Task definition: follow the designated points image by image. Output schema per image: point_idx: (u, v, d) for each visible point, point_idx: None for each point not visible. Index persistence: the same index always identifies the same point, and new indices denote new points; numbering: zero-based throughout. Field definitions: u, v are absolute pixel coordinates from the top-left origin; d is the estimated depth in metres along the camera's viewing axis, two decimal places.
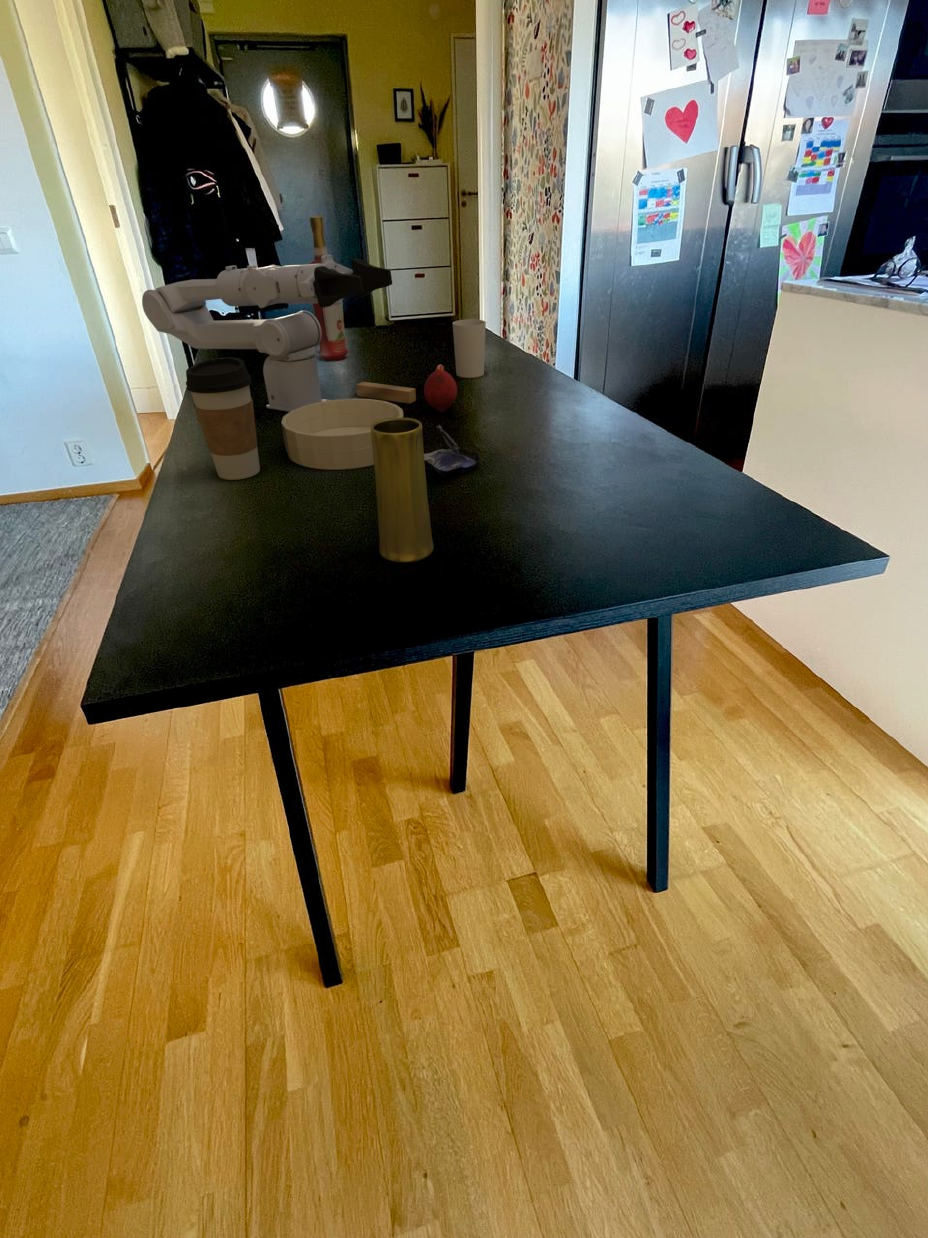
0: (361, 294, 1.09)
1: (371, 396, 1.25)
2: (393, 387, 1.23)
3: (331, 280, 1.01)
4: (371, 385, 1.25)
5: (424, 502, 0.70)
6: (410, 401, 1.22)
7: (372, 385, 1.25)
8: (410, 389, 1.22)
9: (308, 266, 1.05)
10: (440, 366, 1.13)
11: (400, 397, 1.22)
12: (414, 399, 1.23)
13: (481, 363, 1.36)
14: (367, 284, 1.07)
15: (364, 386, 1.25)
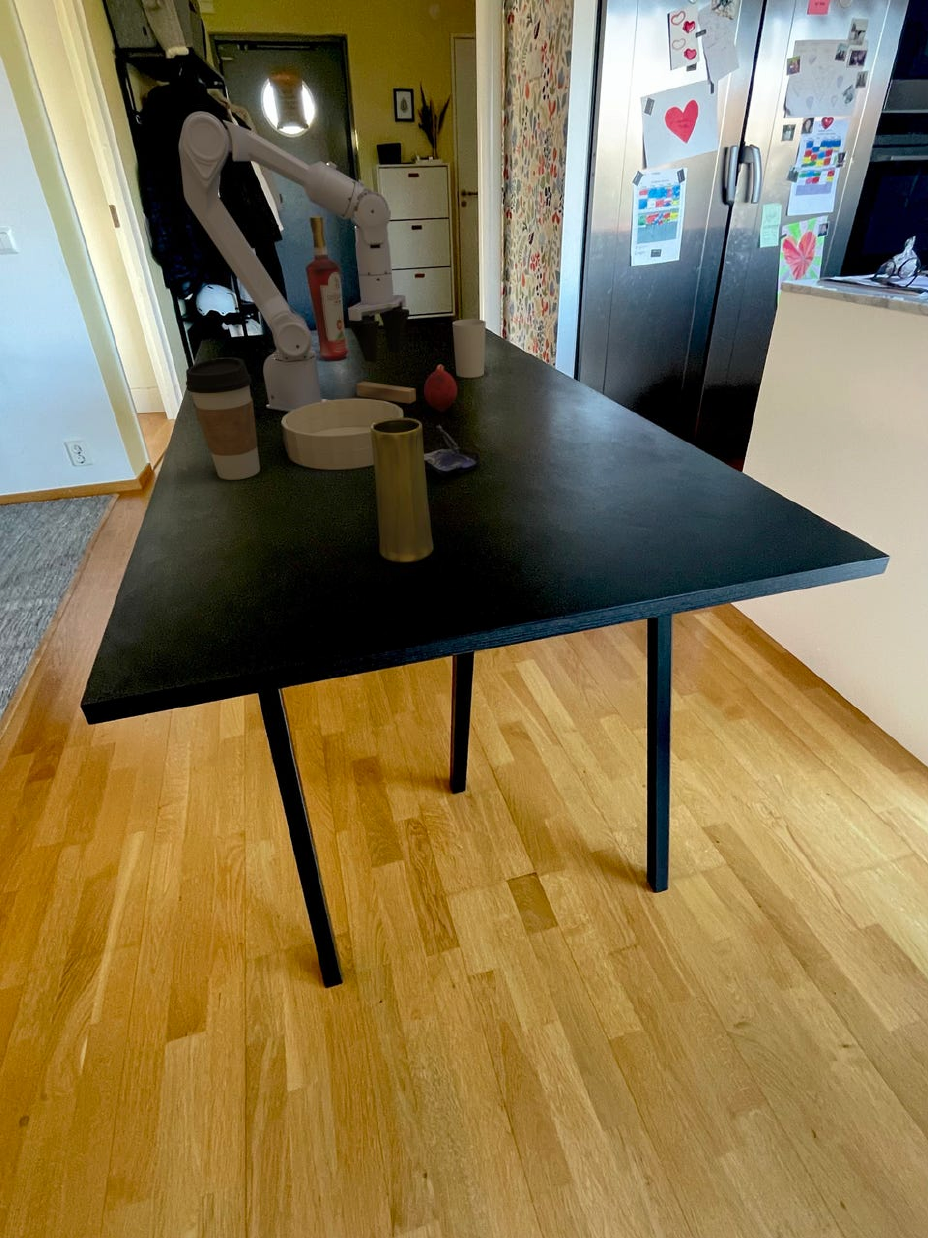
0: (381, 315, 1.21)
1: (371, 396, 1.25)
2: (393, 387, 1.23)
3: None
4: (371, 385, 1.25)
5: (424, 502, 0.70)
6: (410, 401, 1.22)
7: (372, 385, 1.25)
8: (410, 389, 1.22)
9: (384, 284, 1.12)
10: (440, 366, 1.13)
11: (400, 397, 1.22)
12: (414, 399, 1.23)
13: (481, 363, 1.36)
14: (388, 325, 1.21)
15: (364, 386, 1.25)
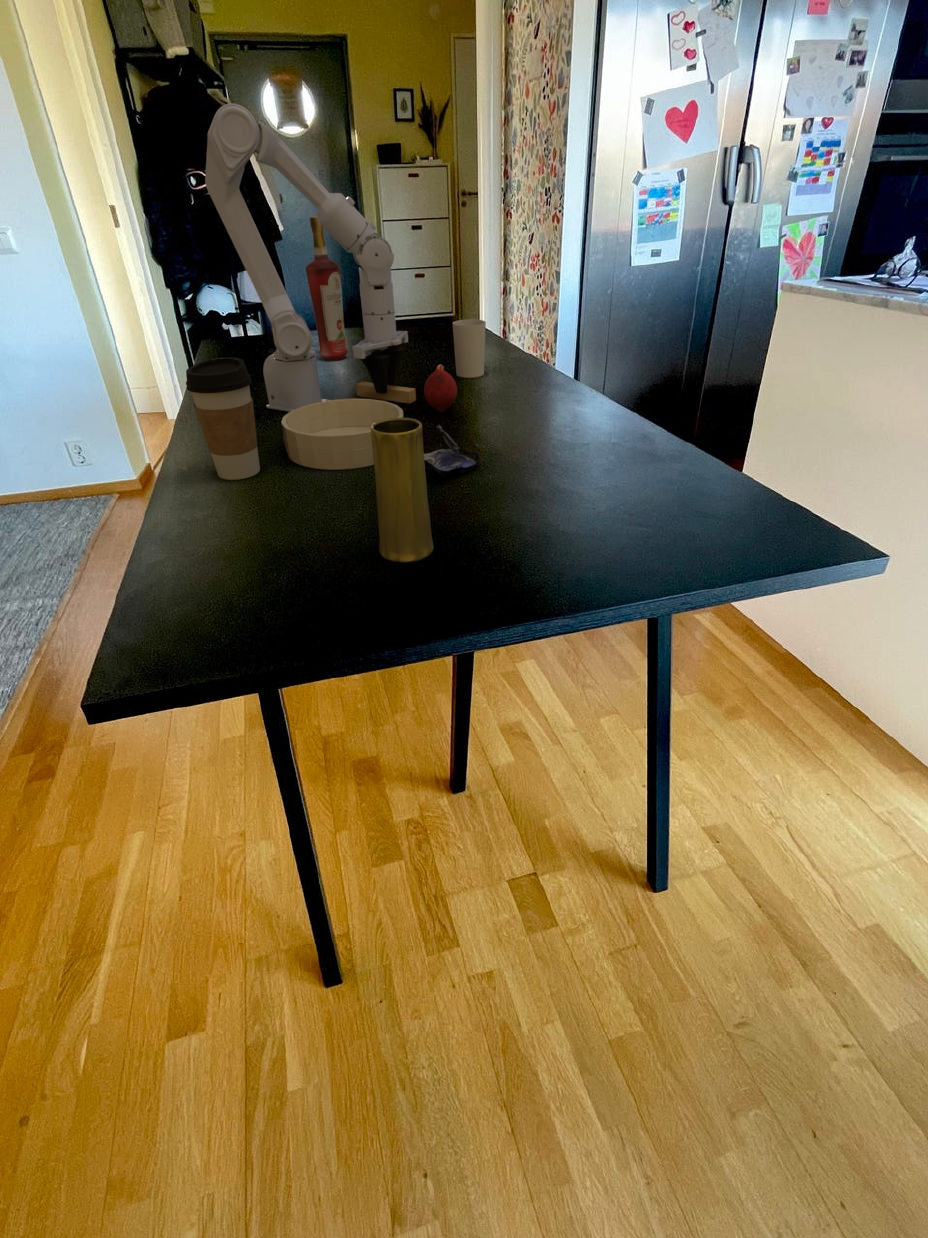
0: None
1: (371, 396, 1.25)
2: (393, 387, 1.23)
3: None
4: (371, 385, 1.25)
5: (424, 502, 0.70)
6: (410, 401, 1.22)
7: (372, 385, 1.25)
8: (410, 389, 1.22)
9: (388, 323, 1.16)
10: (440, 366, 1.13)
11: (400, 397, 1.22)
12: (414, 399, 1.23)
13: (481, 363, 1.36)
14: None
15: (364, 386, 1.25)
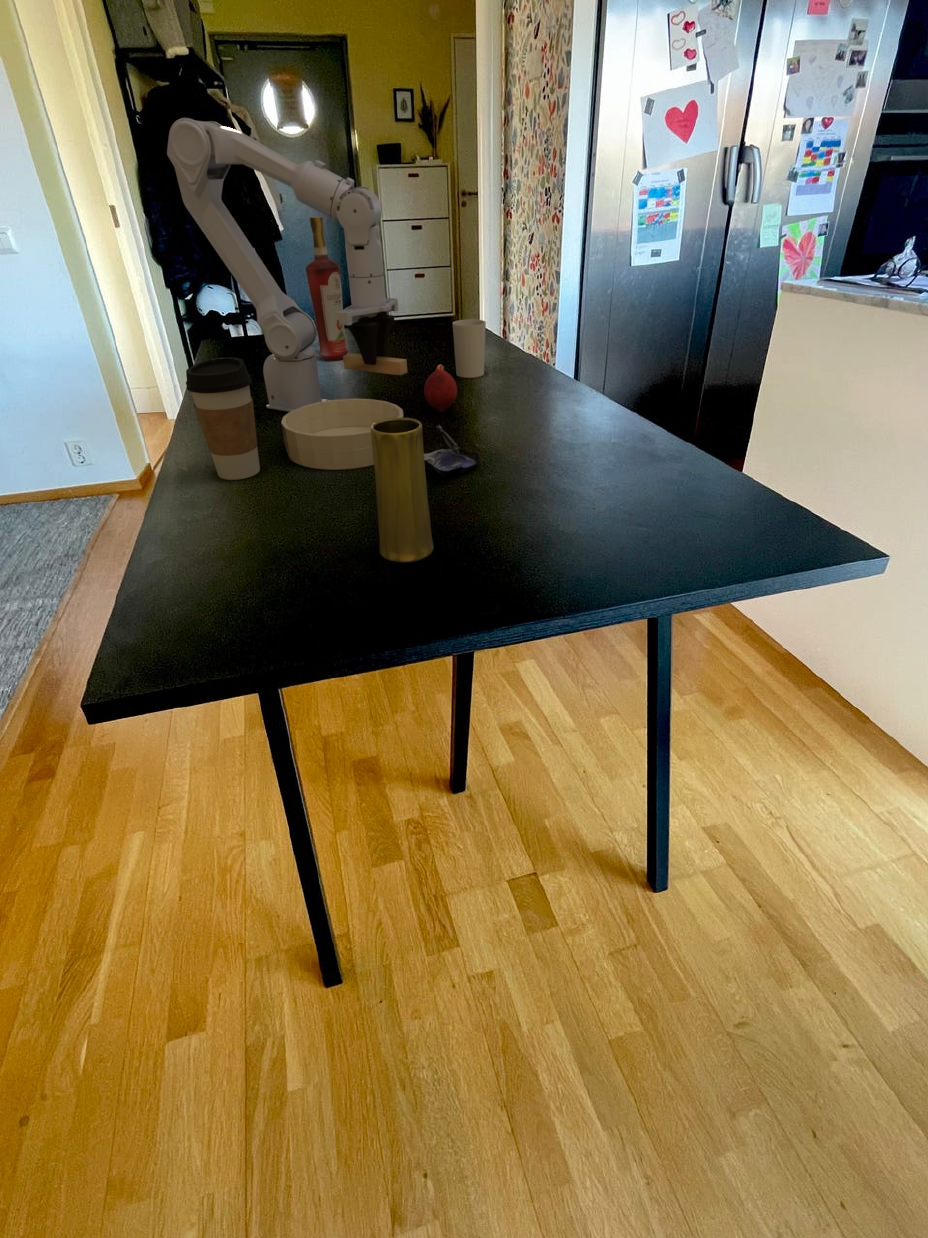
0: None
1: (359, 368, 1.17)
2: (383, 358, 1.15)
3: None
4: (359, 356, 1.16)
5: (424, 502, 0.70)
6: (401, 373, 1.14)
7: (360, 356, 1.16)
8: (401, 360, 1.13)
9: (376, 287, 1.07)
10: (440, 366, 1.13)
11: (391, 369, 1.14)
12: (405, 371, 1.15)
13: (481, 363, 1.36)
14: None
15: (352, 357, 1.16)
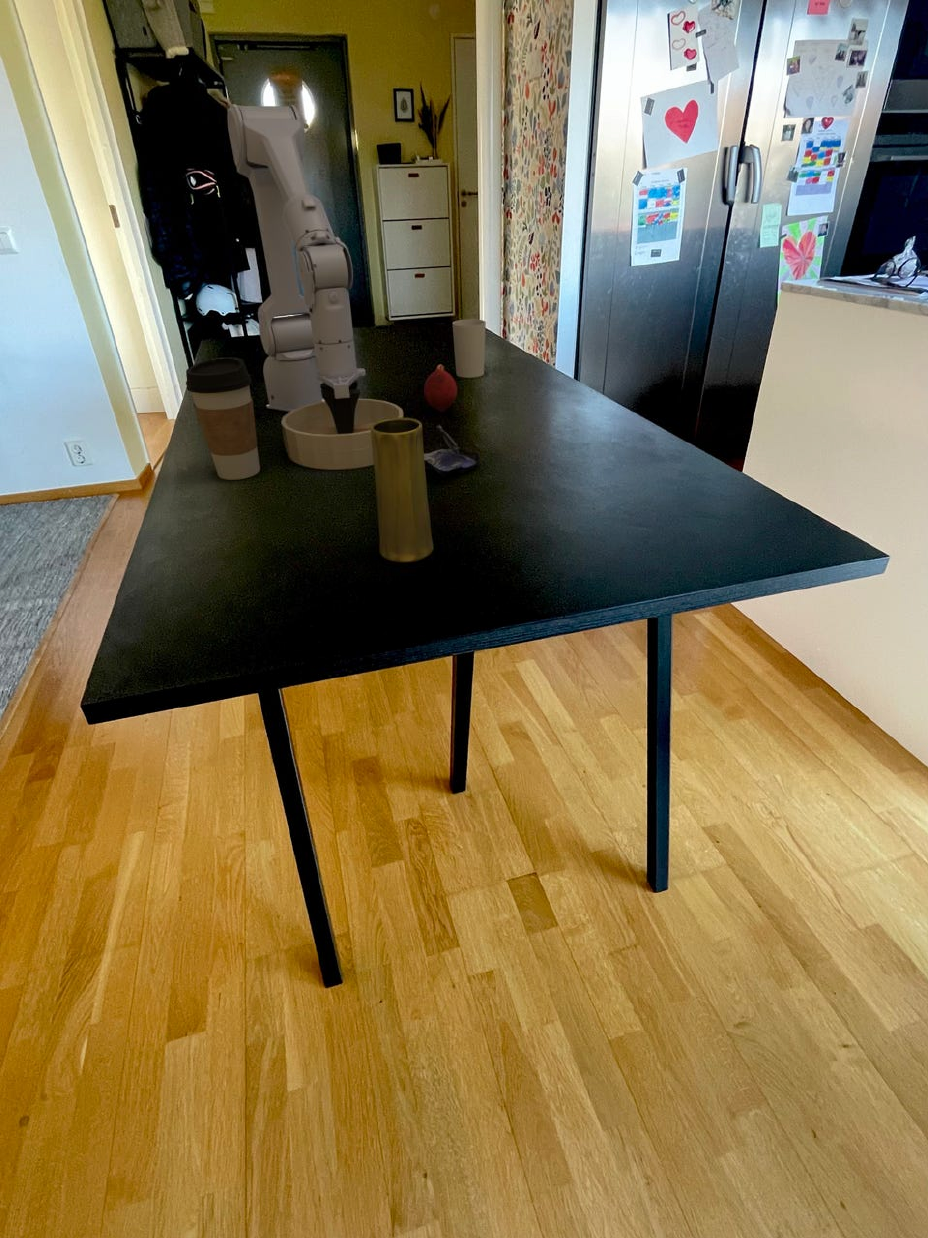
0: None
1: None
2: (357, 426, 1.03)
3: (347, 402, 0.99)
4: (327, 430, 1.02)
5: (424, 502, 0.70)
6: None
7: (329, 430, 1.02)
8: None
9: (353, 351, 0.96)
10: (440, 366, 1.13)
11: None
12: None
13: (481, 363, 1.36)
14: None
15: (320, 433, 1.01)
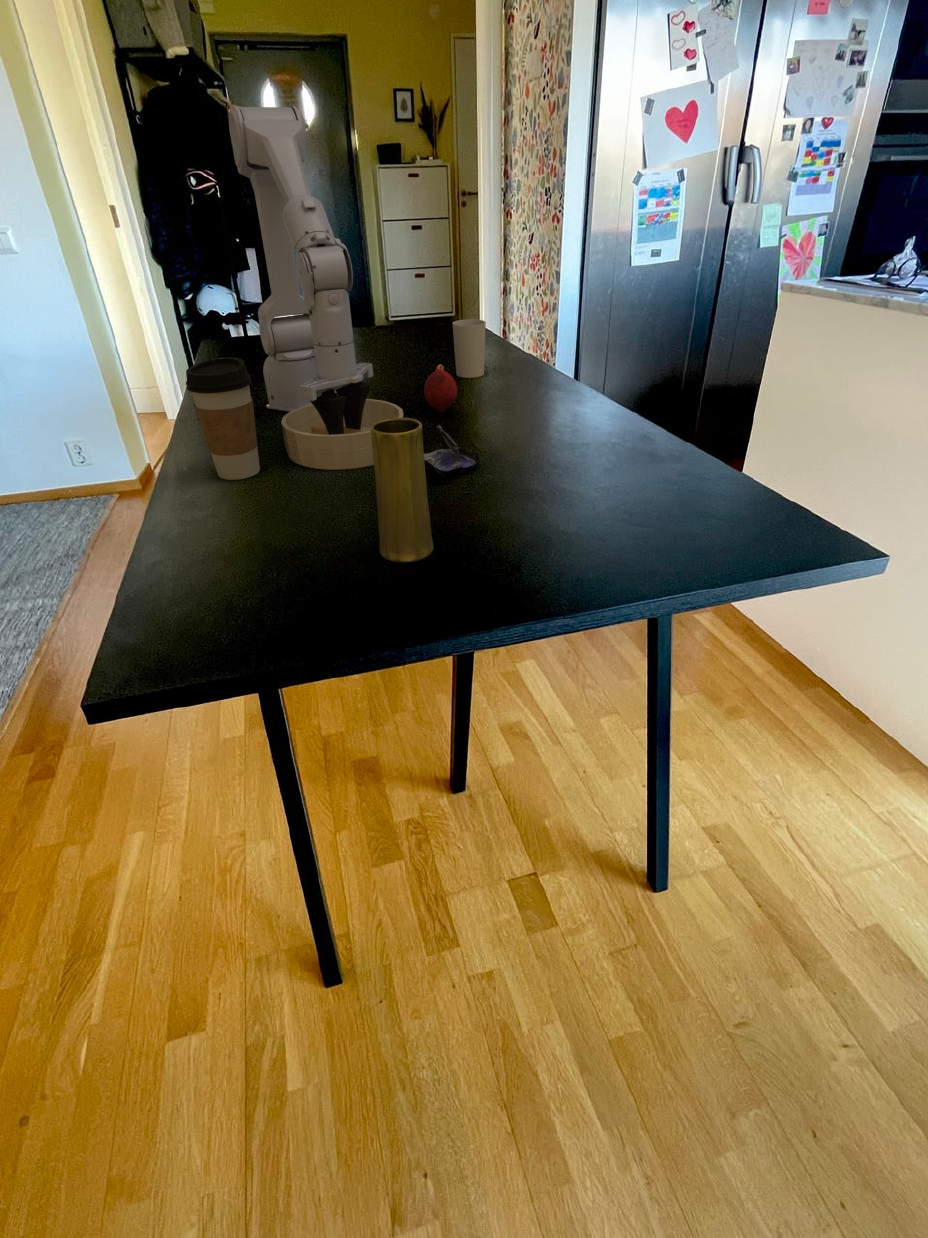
0: (336, 390, 1.01)
1: None
2: (355, 431, 1.01)
3: None
4: None
5: (424, 502, 0.70)
6: None
7: None
8: None
9: (344, 356, 0.94)
10: (440, 366, 1.13)
11: None
12: None
13: (481, 363, 1.36)
14: (345, 401, 1.01)
15: (321, 429, 1.03)
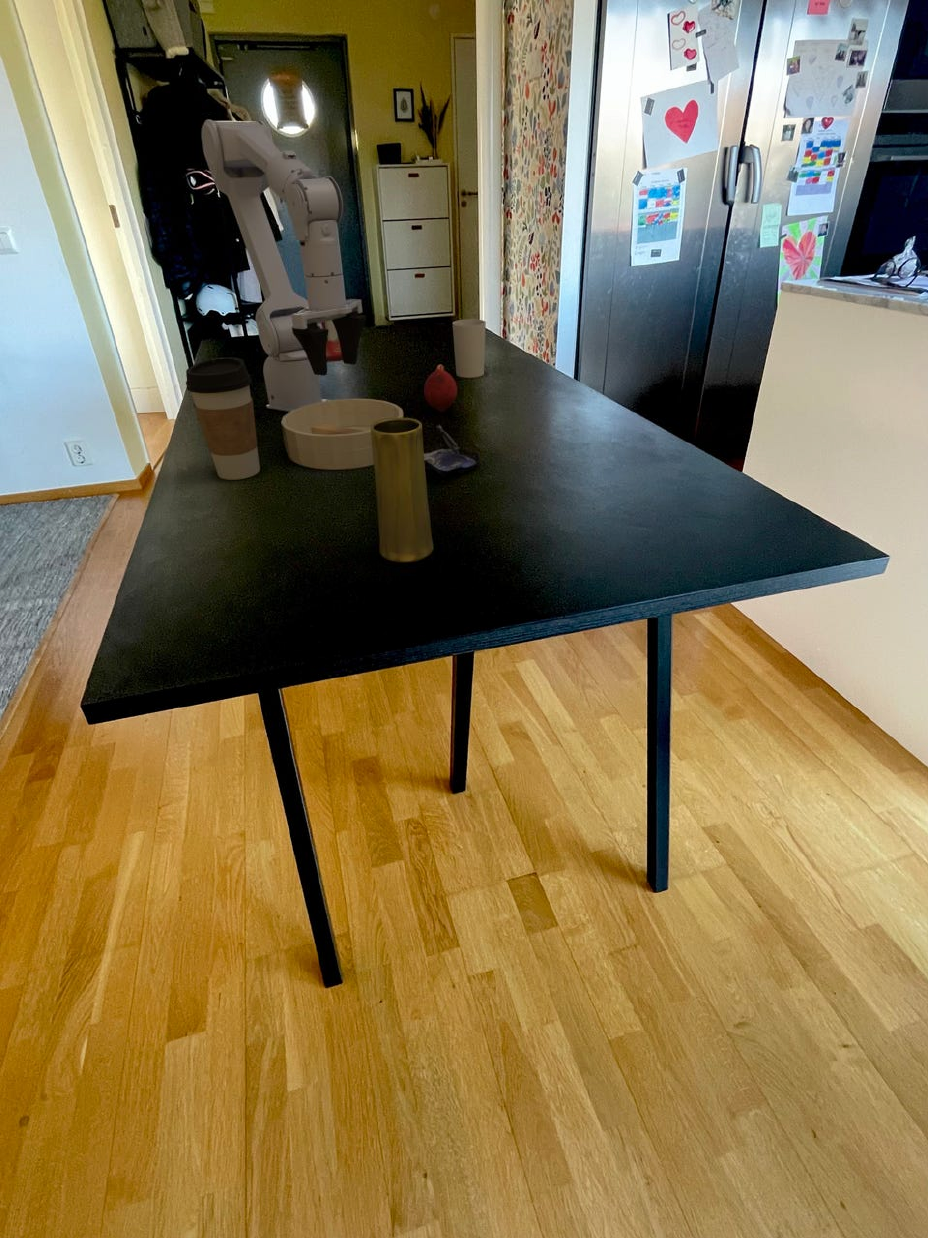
0: (333, 322, 1.07)
1: None
2: (355, 431, 1.01)
3: None
4: (329, 428, 1.02)
5: (424, 502, 0.70)
6: None
7: (330, 428, 1.02)
8: None
9: (334, 287, 0.98)
10: (440, 366, 1.13)
11: None
12: None
13: (481, 363, 1.36)
14: (342, 333, 1.07)
15: (321, 429, 1.03)
